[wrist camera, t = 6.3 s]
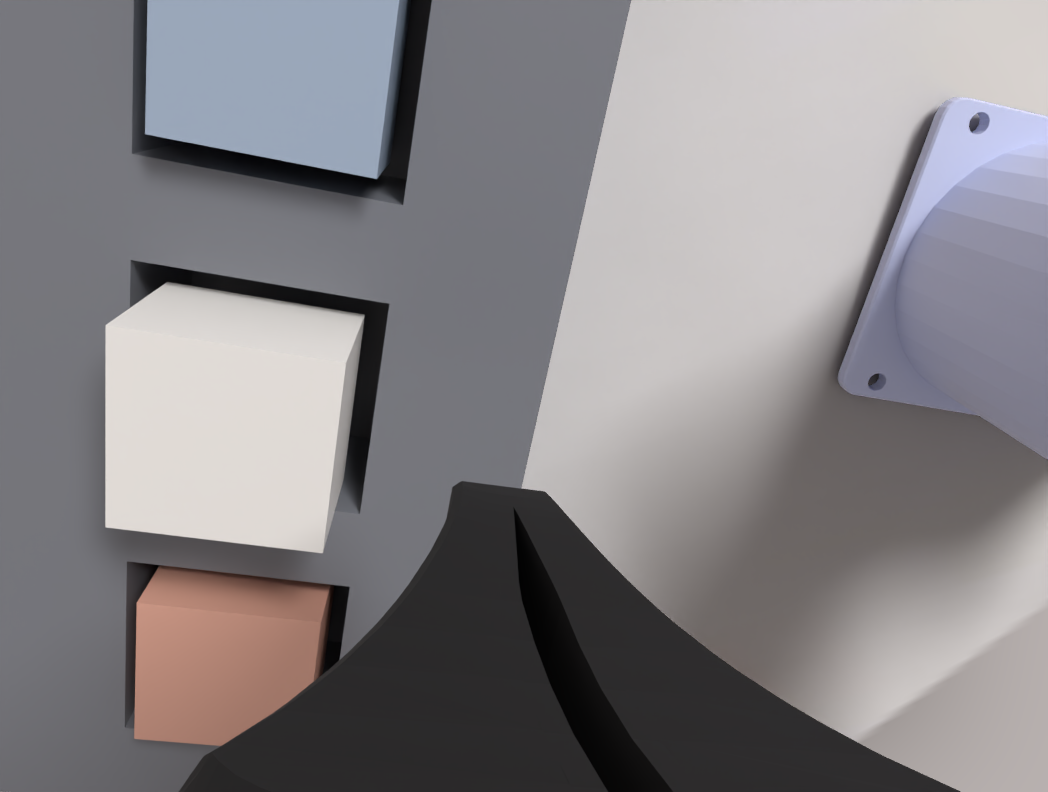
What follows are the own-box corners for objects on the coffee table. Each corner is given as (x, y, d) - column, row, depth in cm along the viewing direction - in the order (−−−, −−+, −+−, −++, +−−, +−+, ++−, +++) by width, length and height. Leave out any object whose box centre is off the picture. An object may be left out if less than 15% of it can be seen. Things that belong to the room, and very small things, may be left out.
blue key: (416, -44, 15) (408, -71, 12) (389, 162, 17) (376, 178, 14) (207, -94, 15) (150, -133, 12) (198, 124, 16) (144, 133, 13)
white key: (364, 314, 16) (346, 363, 13) (343, 479, 18) (323, 553, 15) (167, 281, 16) (105, 325, 13) (162, 454, 17) (105, 527, 14)
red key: (339, 548, 20) (320, 622, 18) (323, 667, 22) (304, 752, 19) (181, 529, 20) (136, 603, 17) (176, 652, 21) (134, 739, 18)
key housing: (623, -138, 17) (677, -208, 13) (447, 701, 25) (445, 822, 21) (38, -294, 15) (-121, -436, 11) (62, 665, 24) (-21, 790, 20)
